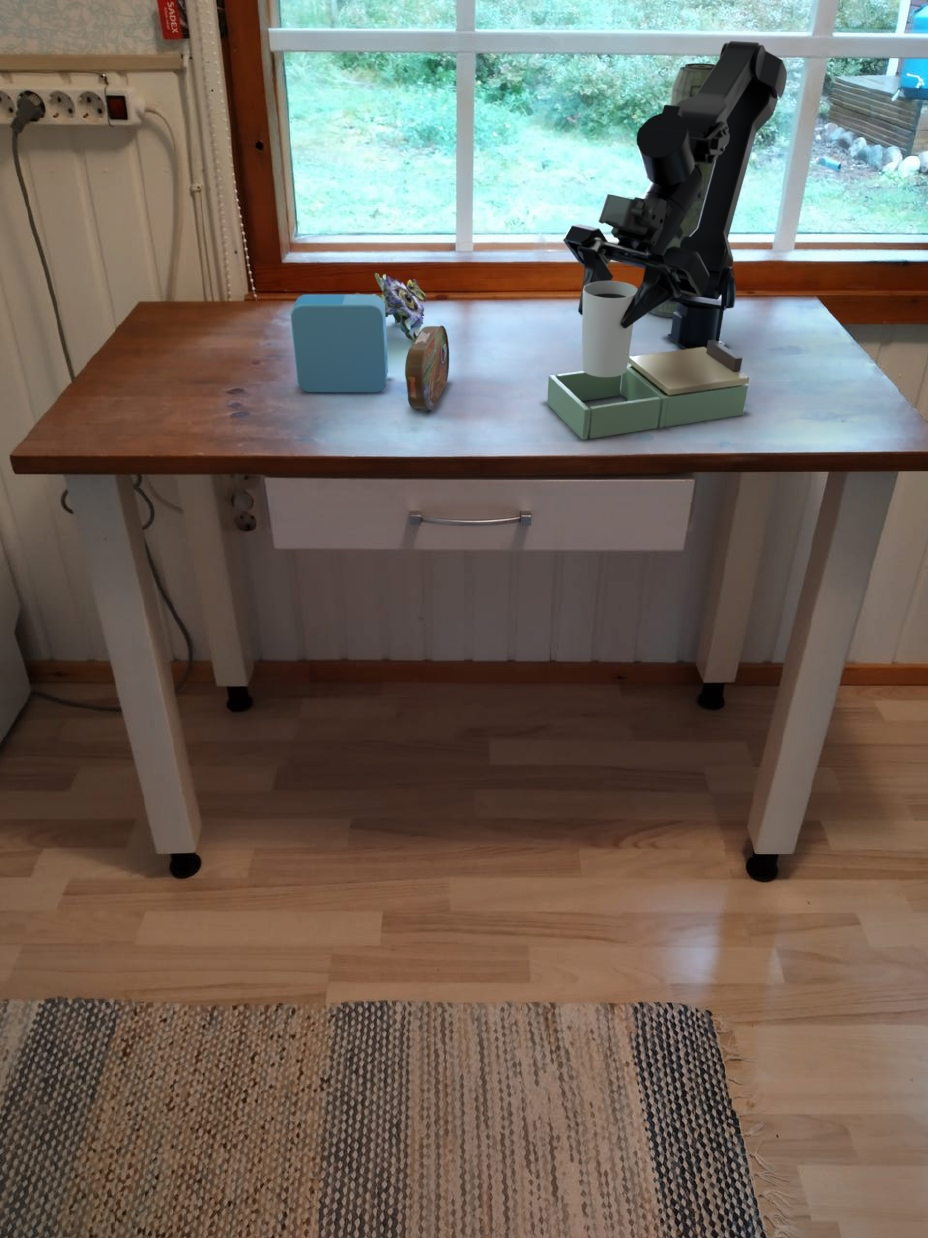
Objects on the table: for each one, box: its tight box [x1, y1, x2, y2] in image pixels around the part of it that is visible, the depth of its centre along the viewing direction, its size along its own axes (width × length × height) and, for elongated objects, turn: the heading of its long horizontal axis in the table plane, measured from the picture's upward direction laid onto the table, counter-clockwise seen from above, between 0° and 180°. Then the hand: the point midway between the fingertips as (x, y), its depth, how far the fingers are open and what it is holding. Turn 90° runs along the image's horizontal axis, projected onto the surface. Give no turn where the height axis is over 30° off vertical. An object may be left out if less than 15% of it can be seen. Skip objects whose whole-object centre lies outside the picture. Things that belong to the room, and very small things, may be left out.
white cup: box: [580, 280, 639, 377], centre depth 122 cm, size 7×7×10 cm
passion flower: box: [354, 272, 428, 342], centre depth 149 cm, size 11×11×12 cm
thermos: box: [648, 62, 716, 318], centre depth 151 cm, size 9×12×35 cm
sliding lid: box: [628, 340, 750, 395], centre depth 128 cm, size 11×11×3 cm
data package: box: [290, 293, 389, 393], centre depth 132 cm, size 12×4×12 cm, turn 90°
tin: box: [404, 325, 450, 411], centre depth 131 cm, size 15×3×8 cm, turn 168°
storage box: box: [546, 364, 749, 441], centre depth 129 cm, size 23×11×4 cm, turn 109°
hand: (601, 319), depth 121 cm, fingers closed on white cup, 6 cm apart
